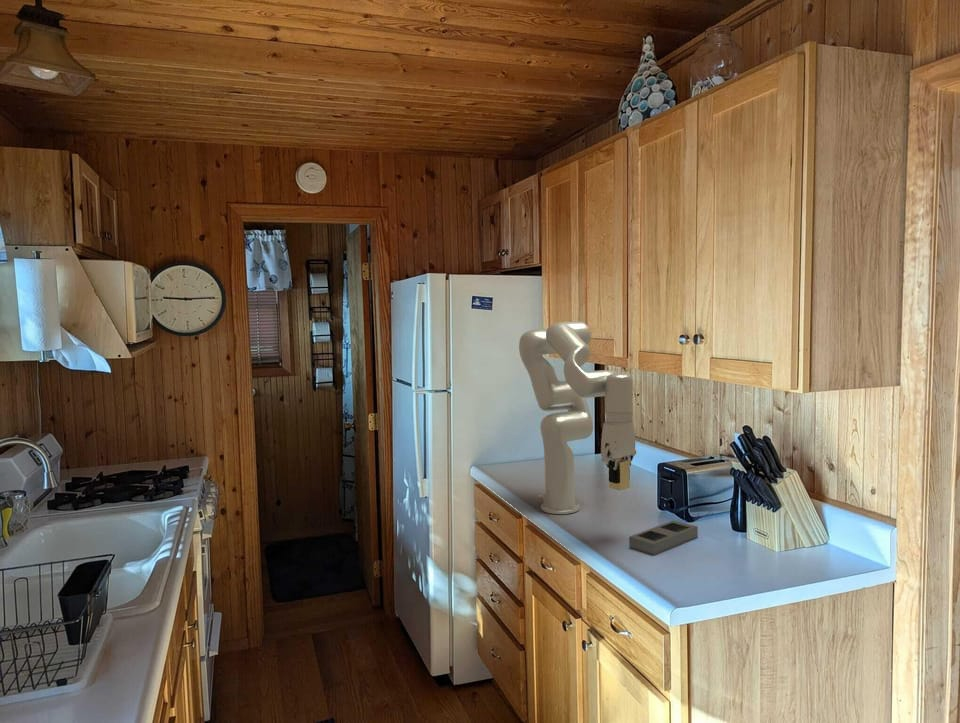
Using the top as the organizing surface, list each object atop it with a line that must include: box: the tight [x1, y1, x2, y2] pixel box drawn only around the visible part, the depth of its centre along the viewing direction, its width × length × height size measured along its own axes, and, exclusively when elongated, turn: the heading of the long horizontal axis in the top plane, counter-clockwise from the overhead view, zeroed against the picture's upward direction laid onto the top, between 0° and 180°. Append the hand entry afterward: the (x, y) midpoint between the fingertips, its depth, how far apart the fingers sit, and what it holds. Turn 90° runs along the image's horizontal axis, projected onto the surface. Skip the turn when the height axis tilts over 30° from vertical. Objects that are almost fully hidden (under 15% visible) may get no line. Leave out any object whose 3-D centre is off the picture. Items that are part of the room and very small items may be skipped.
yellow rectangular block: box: [608, 458, 631, 491], centre depth 193 cm, size 4×4×8 cm
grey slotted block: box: [628, 519, 699, 556], centre depth 188 cm, size 8×20×3 cm, turn 129°
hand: (619, 480), depth 193 cm, fingers closed on yellow rectangular block, 4 cm apart
